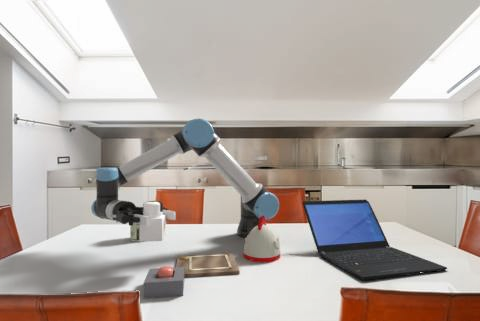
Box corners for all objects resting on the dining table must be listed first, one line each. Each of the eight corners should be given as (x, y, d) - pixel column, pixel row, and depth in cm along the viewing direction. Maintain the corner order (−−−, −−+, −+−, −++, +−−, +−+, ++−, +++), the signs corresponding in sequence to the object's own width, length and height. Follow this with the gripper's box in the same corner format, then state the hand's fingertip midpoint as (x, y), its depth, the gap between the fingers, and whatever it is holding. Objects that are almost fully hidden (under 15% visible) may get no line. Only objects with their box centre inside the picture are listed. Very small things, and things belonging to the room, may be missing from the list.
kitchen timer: (283, 252, 111) (283, 214, 111) (276, 264, 98) (276, 221, 98) (249, 249, 116) (249, 212, 116) (238, 259, 102) (238, 218, 103)
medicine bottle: (144, 236, 95) (144, 200, 95) (166, 235, 95) (166, 199, 95) (138, 242, 87) (138, 203, 88) (162, 241, 88) (162, 202, 88)
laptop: (362, 284, 83) (361, 217, 83) (301, 247, 119) (301, 201, 119) (449, 272, 92) (448, 212, 92) (368, 241, 128) (367, 198, 128)
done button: (173, 276, 81) (173, 265, 81) (172, 282, 77) (172, 271, 77) (158, 277, 81) (159, 266, 81) (157, 283, 77) (157, 272, 77)
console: (184, 280, 85) (184, 266, 85) (183, 295, 75) (183, 280, 75) (149, 282, 83) (149, 268, 83) (143, 298, 73) (143, 282, 73)
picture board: (232, 255, 107) (232, 252, 107) (239, 274, 89) (239, 269, 89) (178, 258, 104) (178, 254, 104) (174, 278, 86) (174, 273, 86)
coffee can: (157, 236, 135) (157, 207, 135) (146, 242, 125) (146, 210, 125) (138, 235, 137) (138, 206, 137) (125, 241, 127) (125, 209, 127)
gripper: (148, 216, 111) (188, 224, 98) (90, 227, 93) (129, 238, 80) (148, 197, 111) (188, 202, 98) (90, 204, 93) (129, 211, 80)
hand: (161, 218), depth 89 cm, fingers closed on medicine bottle, 10 cm apart
